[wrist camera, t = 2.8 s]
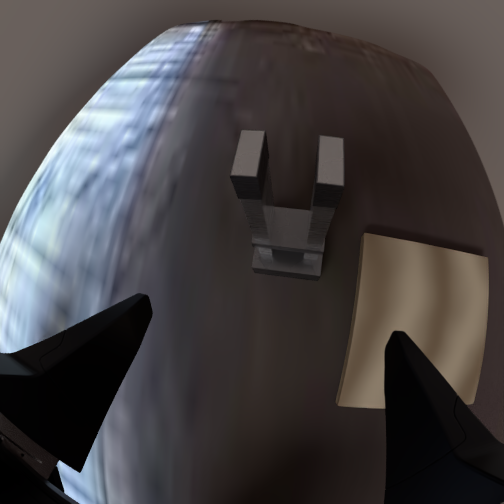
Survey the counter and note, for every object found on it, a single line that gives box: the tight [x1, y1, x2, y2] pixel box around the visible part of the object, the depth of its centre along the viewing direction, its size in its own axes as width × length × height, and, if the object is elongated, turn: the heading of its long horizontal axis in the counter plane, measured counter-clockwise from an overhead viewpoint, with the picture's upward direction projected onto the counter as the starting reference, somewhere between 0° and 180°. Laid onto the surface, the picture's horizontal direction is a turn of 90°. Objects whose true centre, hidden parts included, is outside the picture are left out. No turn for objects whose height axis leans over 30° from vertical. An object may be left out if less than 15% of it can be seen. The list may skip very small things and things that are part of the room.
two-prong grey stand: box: [230, 129, 345, 281], centre depth 17 cm, size 5×5×13 cm
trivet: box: [335, 233, 489, 408], centre depth 19 cm, size 14×14×1 cm
